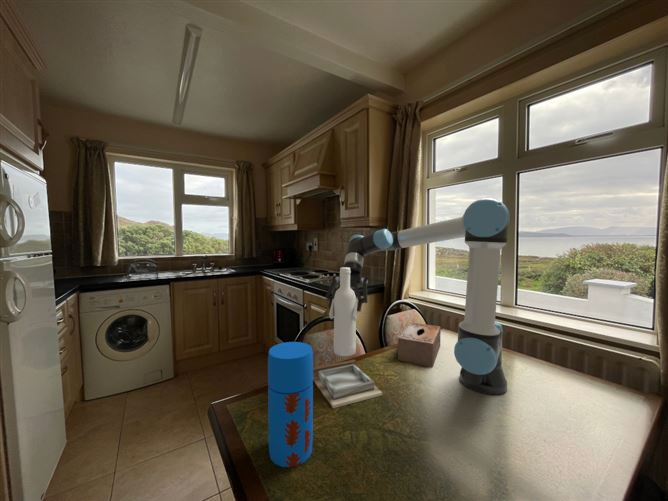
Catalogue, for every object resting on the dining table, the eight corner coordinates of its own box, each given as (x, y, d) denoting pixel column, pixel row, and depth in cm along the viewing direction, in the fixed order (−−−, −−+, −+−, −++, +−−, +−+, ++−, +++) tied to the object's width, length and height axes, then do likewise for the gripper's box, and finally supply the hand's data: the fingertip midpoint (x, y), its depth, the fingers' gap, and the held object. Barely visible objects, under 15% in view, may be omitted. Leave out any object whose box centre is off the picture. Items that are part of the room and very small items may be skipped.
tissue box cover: (410, 341, 140) (411, 322, 139) (440, 346, 133) (440, 326, 133) (397, 360, 117) (398, 337, 117) (432, 367, 110) (433, 343, 110)
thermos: (272, 435, 71) (271, 342, 70) (312, 432, 72) (312, 340, 71) (265, 469, 60) (264, 360, 59) (312, 466, 61) (312, 358, 60)
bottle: (359, 355, 92) (359, 268, 92) (337, 357, 90) (337, 269, 89) (351, 346, 100) (351, 266, 99) (331, 348, 98) (331, 267, 97)
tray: (382, 395, 90) (382, 383, 90) (332, 408, 83) (332, 395, 82) (354, 369, 108) (354, 359, 108) (312, 378, 101) (312, 367, 101)
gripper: (379, 273, 106) (373, 326, 91) (330, 271, 112) (316, 320, 97) (378, 261, 101) (371, 314, 86) (326, 260, 107) (311, 309, 92)
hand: (342, 317), depth 91 cm, fingers closed on bottle, 8 cm apart
